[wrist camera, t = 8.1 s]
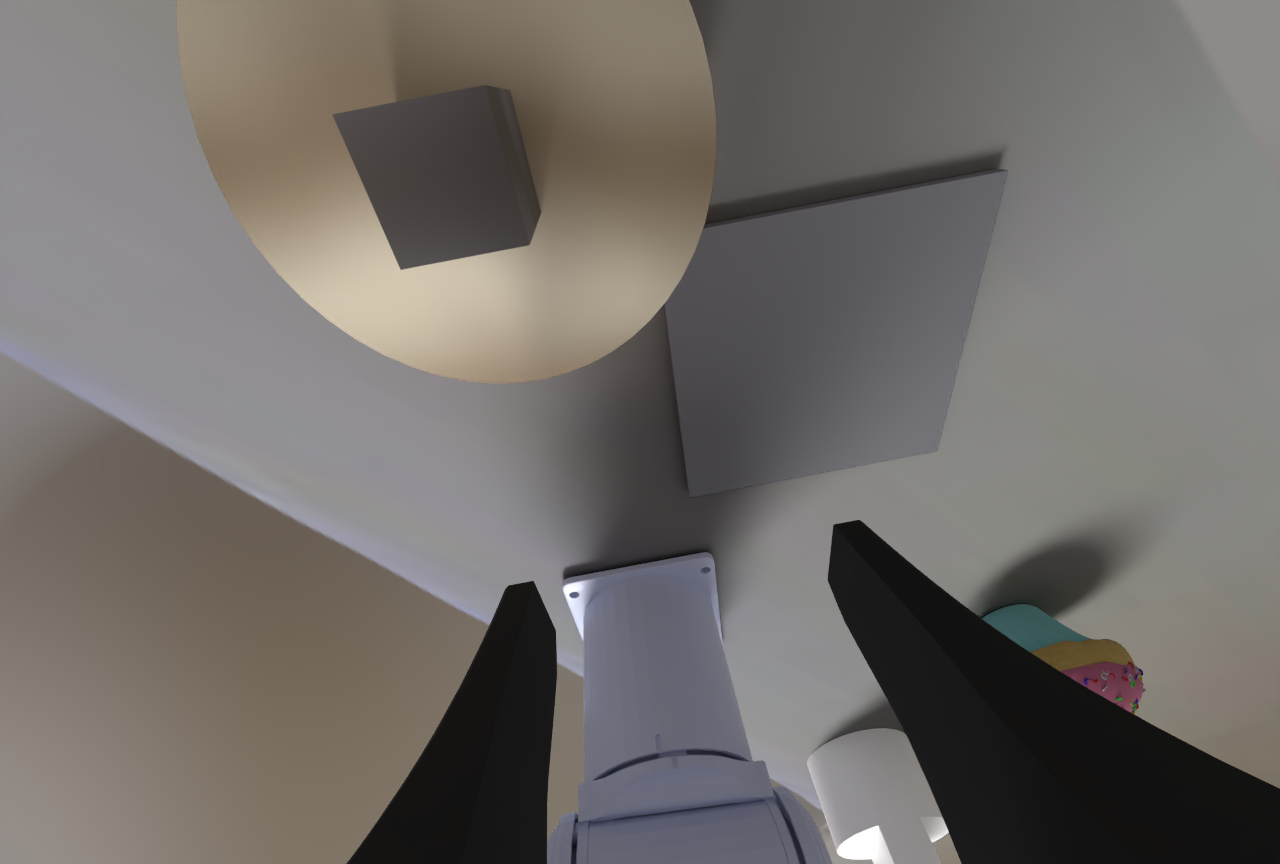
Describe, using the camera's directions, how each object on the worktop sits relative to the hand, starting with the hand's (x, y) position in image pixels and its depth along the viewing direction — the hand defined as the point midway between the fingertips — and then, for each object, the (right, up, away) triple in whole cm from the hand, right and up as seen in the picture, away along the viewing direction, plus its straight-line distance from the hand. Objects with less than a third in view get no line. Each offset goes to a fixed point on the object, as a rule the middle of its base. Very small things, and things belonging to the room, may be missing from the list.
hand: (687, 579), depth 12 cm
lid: (-5, +10, 0) cm, 11 cm away
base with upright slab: (+18, -24, +31) cm, 43 cm away
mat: (+6, +7, +8) cm, 12 cm away
